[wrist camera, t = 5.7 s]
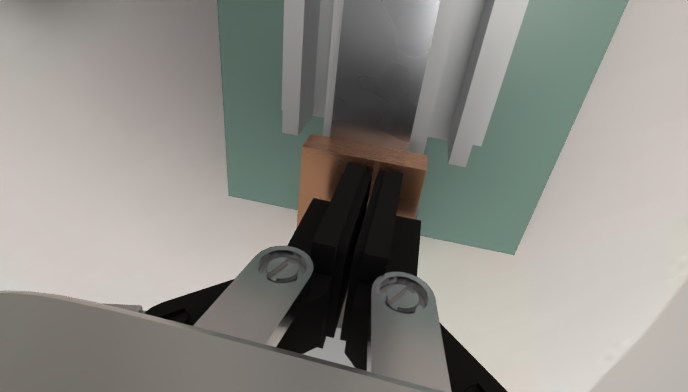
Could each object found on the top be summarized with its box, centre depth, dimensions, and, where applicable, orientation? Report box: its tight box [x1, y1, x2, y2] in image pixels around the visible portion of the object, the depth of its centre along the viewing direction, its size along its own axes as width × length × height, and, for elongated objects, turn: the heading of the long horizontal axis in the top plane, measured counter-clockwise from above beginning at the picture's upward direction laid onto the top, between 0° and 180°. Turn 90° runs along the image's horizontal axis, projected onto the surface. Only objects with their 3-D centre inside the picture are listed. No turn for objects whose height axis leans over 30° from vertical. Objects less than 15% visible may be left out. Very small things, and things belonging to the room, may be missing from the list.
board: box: [217, 0, 629, 368], centre depth 13 cm, size 22×16×10 cm
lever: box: [297, 0, 440, 227], centre depth 10 cm, size 18×4×2 cm, turn 174°
